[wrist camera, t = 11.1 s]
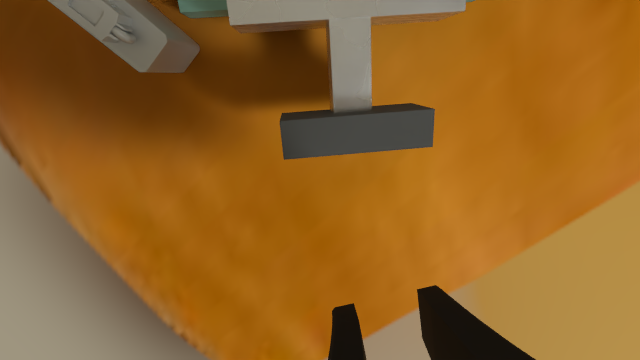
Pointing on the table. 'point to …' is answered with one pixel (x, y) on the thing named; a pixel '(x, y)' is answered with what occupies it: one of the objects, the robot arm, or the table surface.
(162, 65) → the lighter
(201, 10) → the press
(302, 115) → the ram
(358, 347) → the robot arm
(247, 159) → the table surface
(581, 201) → the table surface
